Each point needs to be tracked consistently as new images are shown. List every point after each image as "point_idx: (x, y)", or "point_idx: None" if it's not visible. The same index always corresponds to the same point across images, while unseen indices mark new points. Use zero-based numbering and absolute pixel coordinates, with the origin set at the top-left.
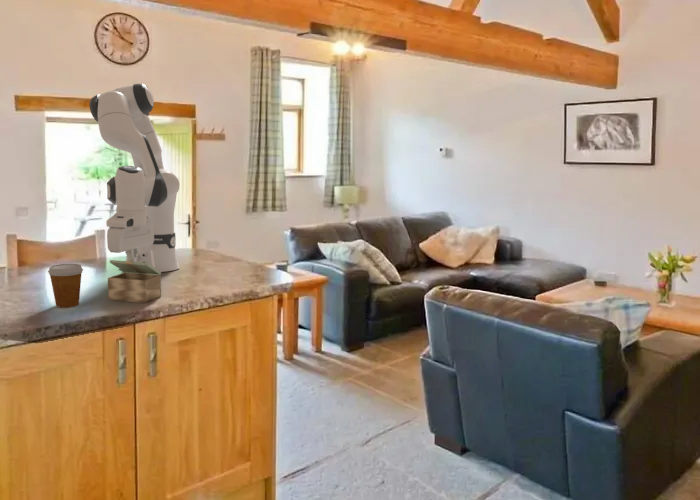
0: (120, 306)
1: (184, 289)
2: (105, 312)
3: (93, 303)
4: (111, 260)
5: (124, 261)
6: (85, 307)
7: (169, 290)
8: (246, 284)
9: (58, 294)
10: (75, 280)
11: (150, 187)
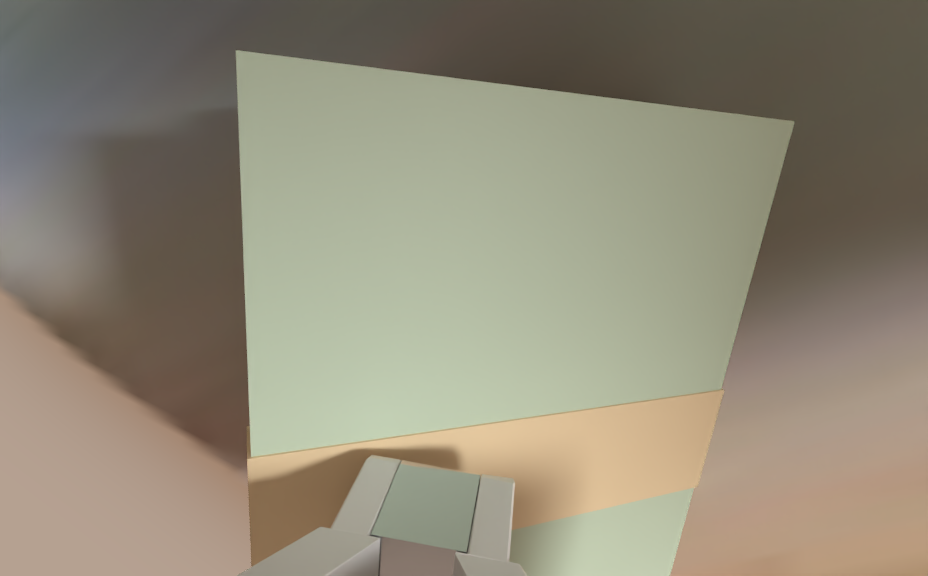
0: (242, 296)
1: (887, 561)
2: (78, 270)
3: (246, 29)
4: (238, 98)
5: (248, 440)
6: (120, 41)
7: (838, 461)
8: None
9: None
10: None
11: None
